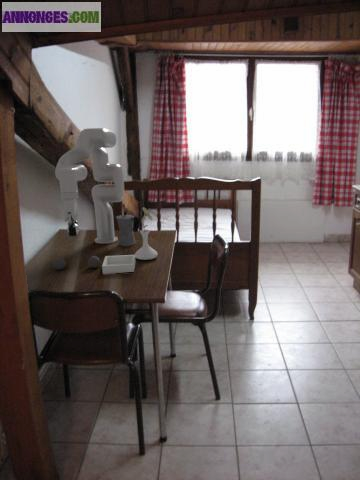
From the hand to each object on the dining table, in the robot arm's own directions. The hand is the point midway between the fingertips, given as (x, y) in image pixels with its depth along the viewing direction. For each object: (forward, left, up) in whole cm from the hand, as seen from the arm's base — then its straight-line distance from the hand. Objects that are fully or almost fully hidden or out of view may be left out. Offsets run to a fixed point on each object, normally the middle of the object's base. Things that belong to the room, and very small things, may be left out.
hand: (74, 233), depth 218 cm
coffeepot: (-35, +22, -17) cm, 45 cm away
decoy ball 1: (0, -8, -14) cm, 16 cm away
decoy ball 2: (0, +8, -14) cm, 16 cm away
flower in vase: (-11, +32, -17) cm, 38 cm away
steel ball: (0, 0, +2) cm, 2 cm away
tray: (+3, +20, -17) cm, 26 cm away
